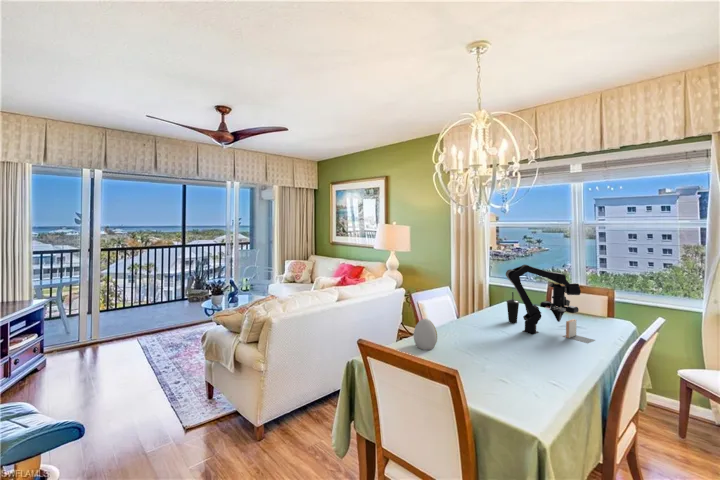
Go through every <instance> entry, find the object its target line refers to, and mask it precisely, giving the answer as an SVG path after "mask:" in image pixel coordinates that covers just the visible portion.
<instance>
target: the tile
mask: <svg viewBox="0 0 720 480" xmlns="http://www.w3.org/2000/svg"><path fill="white" fill-rule="evenodd" d="M565 335H566V339H569V338H570V337H573V336H576V335H577V319H575V318H574V319H569V320H567V321H565Z"/></svg>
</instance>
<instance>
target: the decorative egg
mask: <svg viewBox="0 0 720 480" xmlns="http://www.w3.org/2000/svg"><path fill="white" fill-rule="evenodd" d="M437 332H438V331H437V327H436V326H435V324H434V323H433V322H432V321H431V320H430V319H428V318H422V319H420V320H419V321H418V322H417V323H416V325H415V326H414V331H413V341H414V343H415V346H416V347H417V348H418V349H420V350H423V351H426V350H427V351H428V350H432V349H434V348H435V346H436V345H437V342H438V333H437Z"/></svg>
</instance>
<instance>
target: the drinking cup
mask: <svg viewBox="0 0 720 480" xmlns="http://www.w3.org/2000/svg"><path fill="white" fill-rule="evenodd" d="M511 295H512V298H511V299H508V300H506V307H507V319H508V323H509V322H510V323H509V324H517V323H518V314H519V308H520V307H519V305H520V301H518V300H517V299H514V291H512V292H511Z"/></svg>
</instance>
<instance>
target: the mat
mask: <svg viewBox="0 0 720 480" xmlns="http://www.w3.org/2000/svg"><path fill="white" fill-rule="evenodd" d="M562 338H566V334H565V335H562ZM566 339H567V338H566ZM568 339H569V340H572V341H575V342H576V341H577V342H580V343H585V344H590V343H593V342H596V339H592V338H589V337H585V336H581V335H577V334H576V336H573V337H570V338H568Z"/></svg>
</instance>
